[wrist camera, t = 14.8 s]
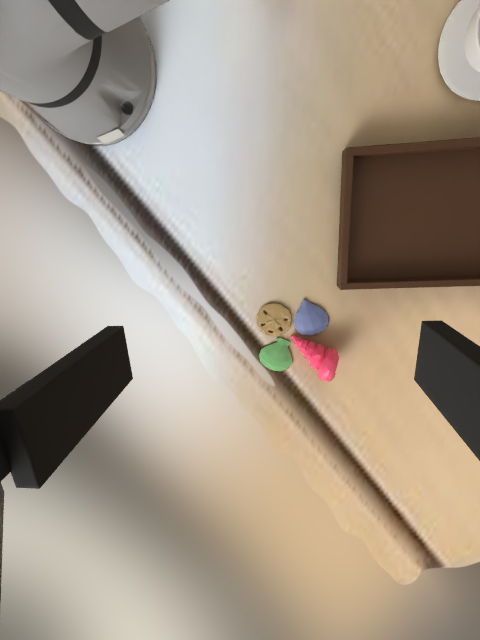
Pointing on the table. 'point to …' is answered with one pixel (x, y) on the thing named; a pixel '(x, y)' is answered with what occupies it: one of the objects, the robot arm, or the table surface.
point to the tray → (410, 215)
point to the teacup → (462, 50)
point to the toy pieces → (296, 338)
